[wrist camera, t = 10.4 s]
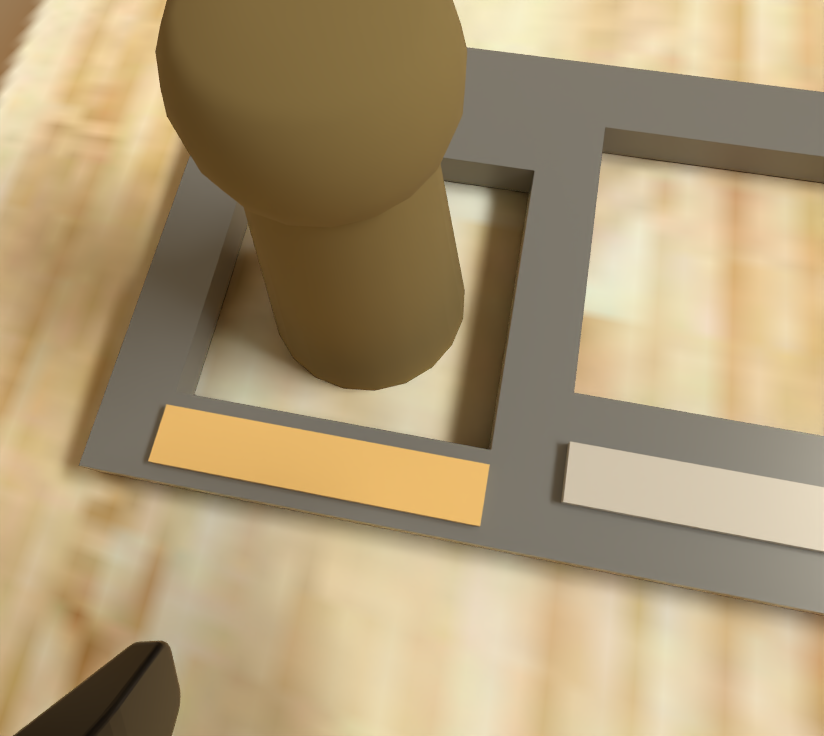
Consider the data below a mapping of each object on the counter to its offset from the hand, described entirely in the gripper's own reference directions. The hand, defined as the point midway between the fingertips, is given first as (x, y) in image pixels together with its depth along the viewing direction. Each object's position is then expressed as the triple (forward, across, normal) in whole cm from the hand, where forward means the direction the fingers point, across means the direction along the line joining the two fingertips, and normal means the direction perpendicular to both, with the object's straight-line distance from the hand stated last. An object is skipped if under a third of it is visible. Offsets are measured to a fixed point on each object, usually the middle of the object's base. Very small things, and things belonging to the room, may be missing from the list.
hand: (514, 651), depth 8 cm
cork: (+13, +3, -2) cm, 13 cm away
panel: (+13, -3, -2) cm, 13 cm away
